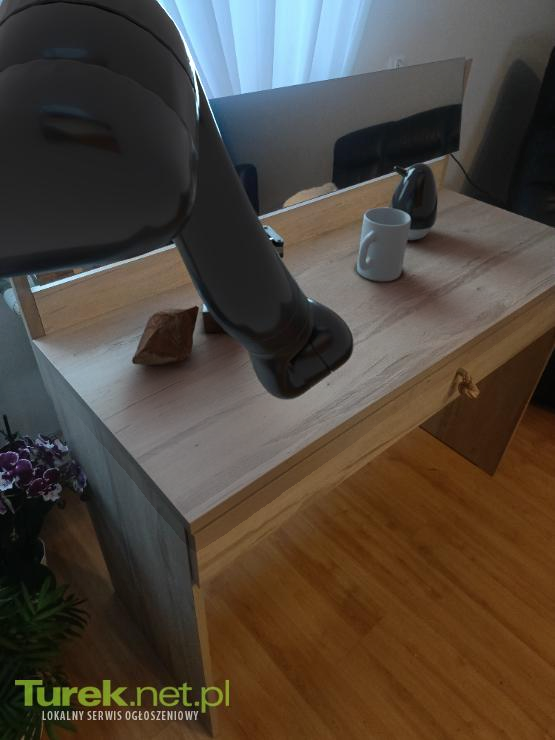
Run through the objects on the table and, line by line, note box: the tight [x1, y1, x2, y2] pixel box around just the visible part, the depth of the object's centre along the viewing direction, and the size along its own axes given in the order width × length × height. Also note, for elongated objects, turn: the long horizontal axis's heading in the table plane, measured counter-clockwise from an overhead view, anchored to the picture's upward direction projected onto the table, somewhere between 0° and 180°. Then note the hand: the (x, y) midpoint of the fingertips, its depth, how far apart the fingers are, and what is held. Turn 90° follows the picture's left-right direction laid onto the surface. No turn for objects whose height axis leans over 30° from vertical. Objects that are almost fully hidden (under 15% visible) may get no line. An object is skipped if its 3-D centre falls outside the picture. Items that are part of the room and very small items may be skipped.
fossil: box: [131, 305, 200, 366], centre depth 73 cm, size 13×8×10 cm
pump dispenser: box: [388, 162, 438, 241], centre depth 104 cm, size 10×10×15 cm
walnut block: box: [202, 302, 227, 334], centre depth 81 cm, size 7×8×4 cm
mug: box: [356, 207, 411, 282], centre depth 91 cm, size 12×8×11 cm
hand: (218, 227), depth 74 cm, fingers closed on bottle, 6 cm apart
